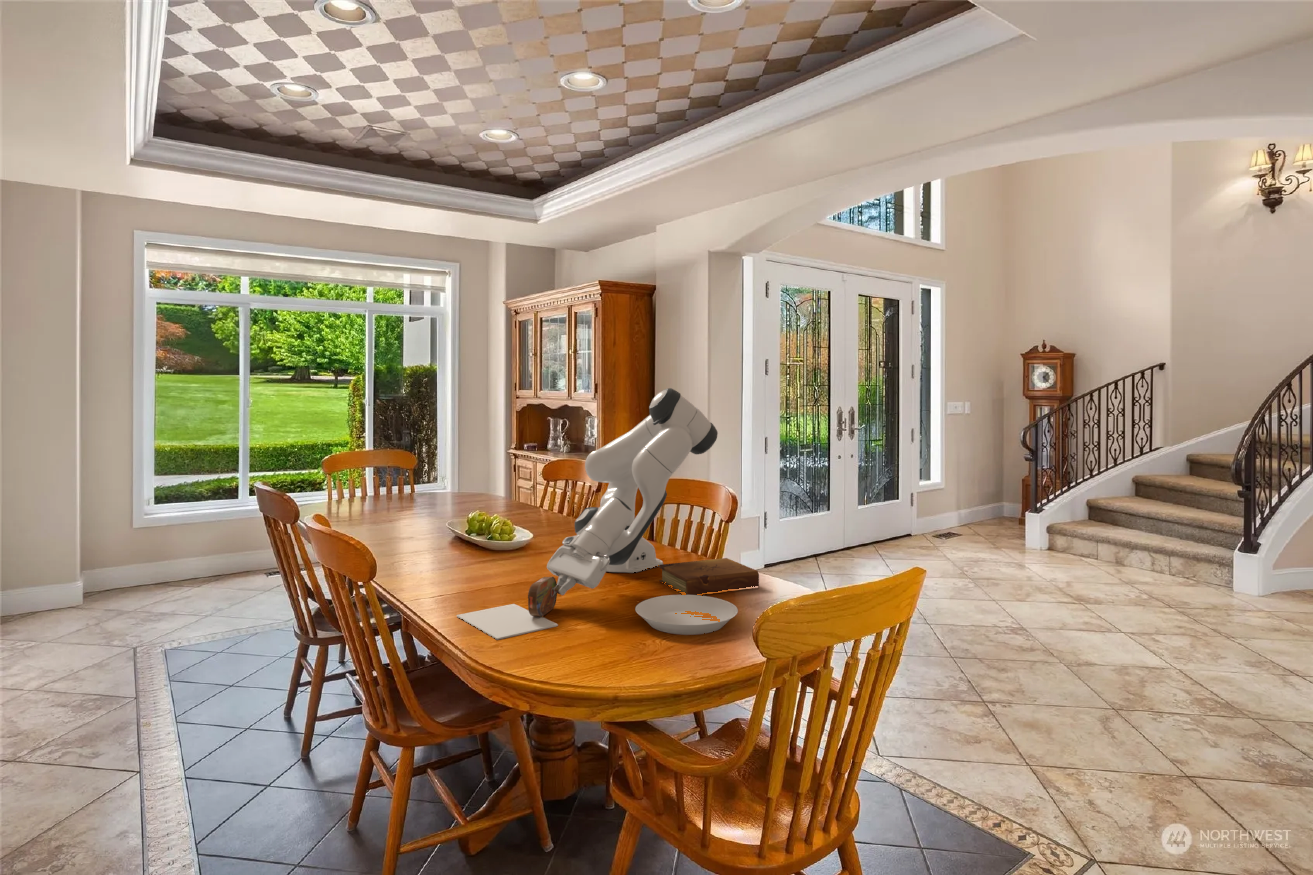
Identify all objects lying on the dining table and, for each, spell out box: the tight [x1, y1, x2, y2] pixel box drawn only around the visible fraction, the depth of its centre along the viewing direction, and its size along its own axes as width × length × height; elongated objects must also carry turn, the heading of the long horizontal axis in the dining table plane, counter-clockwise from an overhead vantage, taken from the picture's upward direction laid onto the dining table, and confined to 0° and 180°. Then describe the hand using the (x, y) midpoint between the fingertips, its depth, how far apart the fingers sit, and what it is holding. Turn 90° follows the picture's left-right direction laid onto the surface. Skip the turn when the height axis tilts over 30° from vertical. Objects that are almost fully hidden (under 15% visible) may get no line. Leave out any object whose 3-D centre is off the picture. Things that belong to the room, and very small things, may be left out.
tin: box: [527, 576, 558, 618], centre depth 182 cm, size 15×3×8 cm, turn 168°
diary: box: [658, 557, 760, 595], centre depth 210 cm, size 23×19×6 cm
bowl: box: [634, 594, 739, 636], centre depth 175 cm, size 25×25×4 cm
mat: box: [455, 603, 559, 641], centre depth 176 cm, size 16×22×1 cm
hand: (557, 592), depth 184 cm, fingers closed
